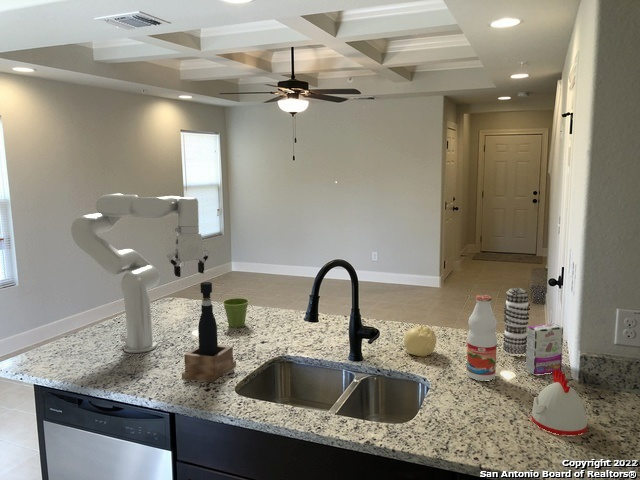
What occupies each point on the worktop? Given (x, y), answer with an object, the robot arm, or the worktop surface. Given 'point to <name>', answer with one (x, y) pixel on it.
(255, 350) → the worktop surface
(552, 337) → the candy bar box
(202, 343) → the black water bottle
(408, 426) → the worktop surface
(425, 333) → the pale yellow round lump
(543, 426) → the white and red dome
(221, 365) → the bottle stand
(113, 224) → the robot arm
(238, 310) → the plant pot
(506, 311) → the decorative candle
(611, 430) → the worktop surface
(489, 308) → the fruit juice
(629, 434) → the worktop surface
